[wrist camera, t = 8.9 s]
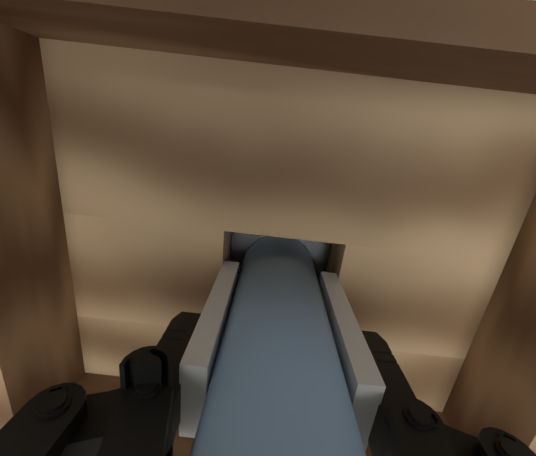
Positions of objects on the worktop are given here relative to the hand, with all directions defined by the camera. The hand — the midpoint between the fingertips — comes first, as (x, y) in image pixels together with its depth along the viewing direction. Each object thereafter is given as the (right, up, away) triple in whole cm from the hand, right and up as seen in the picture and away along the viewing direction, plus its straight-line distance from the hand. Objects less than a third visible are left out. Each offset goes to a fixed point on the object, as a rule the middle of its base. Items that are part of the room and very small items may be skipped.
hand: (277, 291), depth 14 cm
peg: (0, +1, +2) cm, 2 cm away
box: (0, +2, +1) cm, 3 cm away
